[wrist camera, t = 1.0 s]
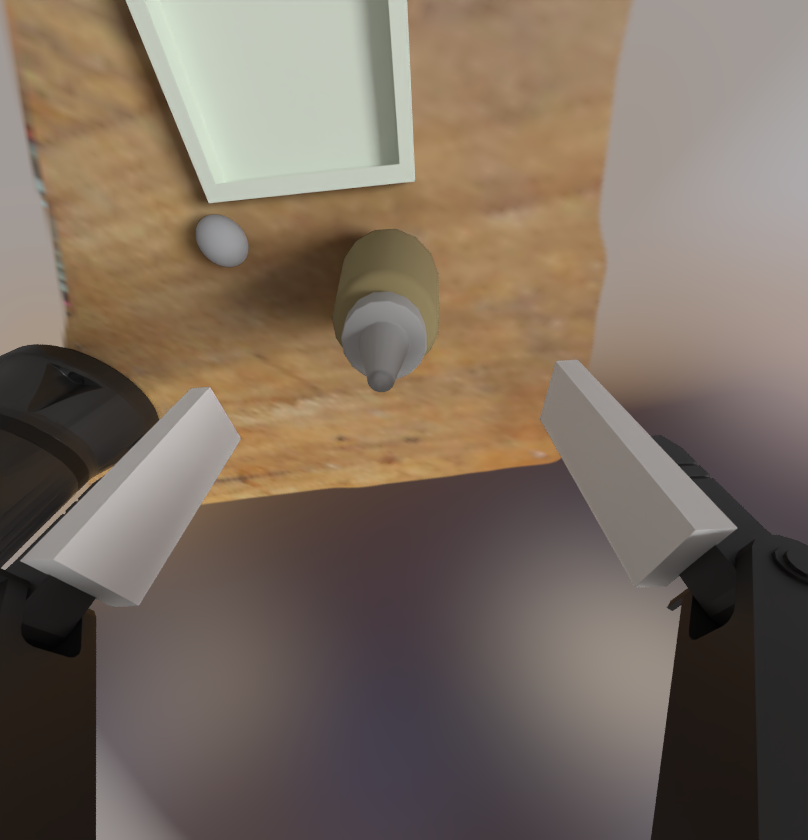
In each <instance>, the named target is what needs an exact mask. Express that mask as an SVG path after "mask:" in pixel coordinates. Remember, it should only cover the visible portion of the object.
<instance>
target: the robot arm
mask: <svg viewBox="0 0 808 840" xmlns="http://www.w3.org/2000/svg"><path fill="white" fill-rule="evenodd" d="M540 420H541V422H542V424H543V426H544V427H545V429H546V431H547V433H548V434H549V436H550V438H551V440H552V441H553V443H554V445H555V447H556V449H557V450H558V452H559V454H560V456H561V457H562V459H563V461H564V463H565V465H566V466H567V468H568V470H569V472H570V473H571V475H572V477H573V479H574V480H575V482H576V484H577V485H578V488H579V489H580V491H581V493H582V495H583V496H584V498H585V500H586V502H587V503H588V505H589V507H590V509H591V510H592V512H593V514H594V516H595V518H596V519H597V521H598V523H599V525H600V526H601V528H602V530H603V532H604V533H605V535H606V537H607V539H608V541H609V542H610V544H611V546H612V548H613V549H614V551H615V553H616V555H617V557H618V558H619V560H620V562H621V564H622V565H623V567H624V569H625V571H626V572H627V574H628V576H629V578H630V580H631V581H632V583H633V585H634V587H658V586H667V585H669V584H670V583H671V582H672V581H673V580H675V579H676V578H677V577H678V576H680V577H681V578H682V580H683V581H684V583H685V584H686V585H687V587H688V589H686V590H685V591H683V592H682V593H681V594H679V595H678V596H677V597H675V598H674V599H673V600H671V601H670V603H669V605H668V607H667V608H668V609H670V610H672V611H673V610H675V609H676V608H677V607H679V606H680V605H681V614H680V621H679V628H678V637H677V644H676V651H675V659H674V667H673V674H672V682H671V689H670V697H669V705H668V712H667V720H666V728H665V735H664V743H663V751H662V759H661V766H660V774H659V782H658V789H657V797H656V804H655V812H654V819H653V827H652V835H651V840H808V546H807V545H805V544H803V543H801V542H799V541H797V540H793V539H790V538H786V537H783V536H780V535H771V533H770V532H768V531H767V530H766V529H764V528H763V526H762V525H761V524H759V522H758V521H756V520H755V519H754V518H753V517H752V516H751V515H750V514H749V513H748V512H747V511H746V510H745V509H744V508H743V507H742V506H741V505H740V504H739V503H738V502H737V501H736V500H735V499H734V498H733V497H732V496H731V495H730V494H729V493H728V492H727V491H726V490H725V489H724V488H723V487H722V486H721V485H719V484H718V483H717V482H716V481H715V480H714V479H713V478H712V479H711V478H710V475H709V474H708V473H707V472H706V471H705V470H704V469H703V468H702V467H701V466H698V465H697V462H696V461H695V460H694V459H693V458H692V457H691V456H690V455H689V454H687V452H686V451H685V450H684V449H683V448H681V447H680V446H678V445H676V444H675V443H673V442H671V441H670V440H668V439H667V438H665V437H663V436H661V435H658V436H650V435H649V434H648V433H647V432H646V431H645V430H644V429H643V428H642V427H641V426H640V425H639V424H638V423H637V422H636V421H635V420H634V419H633V418H632V416H631V415H630V414H629V413H628V412H627V411H626V410H625V409H624V408H623V407H622V406H621V405H620V404H619V403H618V402H617V401H616V400H615V399H614V398H613V396H612V395H611V394H610V393H609V392H608V391H607V390H606V389H605V388H604V387H603V386H602V385H601V384H600V383H599V382H598V381H597V380H596V379H595V378H594V377H593V376H592V374H591V373H590V372H589V371H588V370H587V369H586V368H585V367H584V366H583V365H582V364H581V363H580V362H579V361H578V360H566V361H556V363H555V366H554V370H553V374H552V377H551V381H550V384H549V388H548V392H547V395H546V399H545V402H544V406H543V409H542V413H541V417H540ZM240 439H241V438H240V436H239V434H238V433H237V431H236V429H235V428H234V426H233V424H232V423H231V421H230V419H229V418H228V416H227V414H226V413H225V411H224V409H223V408H222V406H221V404H220V403H219V401H218V400H217V398H216V396H215V395H214V393H213V391H212V390H211V388H210V387H203V388H191V389H190V390H189V391H188V392H187V393H186V394H185V395H184V396H183V397H182V398H181V399H180V400H179V401H178V402H177V403H176V404H175V405H174V406H173V407H172V408H171V409H170V410H169V411H168V412H167V413H166V414H165V415H164V416H163V417H162V418H161V419H160V420H159V418H158V415H157V412H156V410H155V408H154V406H153V405H152V403H151V402H150V400H149V399H148V398H147V397H146V395H145V394H144V393H143V392H142V391H141V390H140V389H139V388H138V387H137V386H136V385H135V384H134V383H132V382H131V381H130V380H129V379H127V378H126V377H125V376H123V375H122V374H121V373H119V372H118V371H116V370H114V369H113V368H111V367H109V366H108V365H106V364H104V363H102V362H100V361H98V360H96V359H94V358H92V357H90V356H87V355H85V354H82V353H79V352H76V351H73V350H70V349H66V348H62V347H58V346H52V345H38V344H37V345H27V346H22V347H19V348H17V349H15V350H13V351H11V352H8V353H6V354H4V355H2V356H0V840H96V615H95V612H94V611H93V610H91V609H88V608H89V607H90V605H91V604H92V602H93V601H94V600H95V599H98V600H100V601H102V602H104V603H106V604H108V605H110V606H112V607H115V606H138V605H139V604H140V603H141V601H142V599H143V598H144V596H145V595H146V593H147V591H148V590H149V588H150V586H151V585H152V583H153V581H154V580H155V578H156V576H157V575H158V573H159V572H160V570H161V568H162V567H163V565H164V564H165V562H166V560H167V559H168V557H169V555H170V554H171V552H172V550H173V549H174V547H175V545H176V544H177V542H178V541H179V539H180V537H181V536H182V534H183V533H184V531H185V529H186V528H187V526H188V524H189V523H190V521H191V519H192V518H193V516H194V515H195V513H196V511H197V510H198V508H199V506H200V505H201V503H202V502H203V500H204V498H205V497H206V495H207V493H208V492H209V490H210V488H211V487H212V485H213V484H214V482H215V480H216V479H217V477H218V475H219V474H220V472H221V470H222V469H223V467H224V466H225V464H226V462H227V461H228V459H229V457H230V456H231V454H232V453H233V451H234V449H235V448H236V446H237V444H238V443H239V441H240ZM111 467H113V468H112V469H111V470H110V471H109V472H108V473H107V474H106V475H104V476H103V477H101V478H100V479H99V480H97V481H96V482H94V483H93V484H92V485H91V486H90V487H89V488H88V489H87V490H86V491H85V492H84V493H83V494H82V495H81V496H80V497H79V498H78V501H76V502H74V503H73V504H72V505H71V506H70V507H69V508H68V509H67V510H66V513H65V514H62V515H61V516H60V517H59V518H58V519H57V520H56V521H55V522H54V523H53V524H52V525H51V526H50V527H49V528H48V529H47V530H46V531H45V532H44V533H43V534H42V535H41V536H40V537H39V538H38V539H37V540H36V541H35V542H34V543H33V544H32V545H31V546H30V547H29V548H28V549H27V550H26V551H25V552H24V553H23V554H22V555H21V556H20V557H19V558H18V559H17V560H16V561H15V562H14V563H13V564H11V565H10V566H9V567H8V568H7V569H6V570H3V569H1V567H2V566H3V565H4V564H5V563H6V562H7V561H8V560H9V559H10V558H11V557H12V556H13V555H14V554H15V553H16V552H17V551H18V550H19V549H20V548H21V547H22V546H23V545H24V544H25V543H26V542H27V541H28V540H29V539H30V538H31V537H32V536H33V535H34V534H35V533H36V532H37V531H38V530H39V529H40V528H41V527H42V526H43V525H44V524H45V523H46V522H47V521H48V520H49V519H50V518H51V517H52V516H53V515H54V514H55V513H56V512H57V511H58V510H59V509H60V508H61V507H62V506H63V505H65V503H67V501H69V500H70V498H71V497H72V496H73V495H74V494H75V493H76V492H77V491H78V490H80V489H81V488H82V487H83V486H84V485H85V484H86V483H87V482H88V481H89V480H90V479H91V478H93V477H94V476H96V475H98V474H100V473H102V472H103V471H105V470H107V469H109V468H111Z"/></svg>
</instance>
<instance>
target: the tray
mask: <svg viewBox="0 0 808 840" xmlns="http://www.w3.org/2000/svg"><path fill="white" fill-rule="evenodd" d="M126 2H127V5H128V7H129V10H130V12H131V15H132V17H133V19H134V22H135V24H136V27H137V29H138V32H139V34H140V36H141V39H142V41H143V44H144V46H145V49H146V51H147V54H148V56H149V58H150V61H151V63H152V66H153V68H154V71H155V73H156V75H157V78H158V80H159V83H160V85H161V88H162V90H163V93H164V95H165V97H166V100H167V102H168V105H169V107H170V110H171V112H172V114H173V117H174V119H175V122H176V124H177V127H178V129H179V132H180V134H181V136H182V139H183V141H184V144H185V146H186V149H187V151H188V153H189V156H190V158H191V161H192V163H193V166H194V168H195V170H196V173H197V175H198V178H199V180H200V183H201V185H202V188H203V190H204V192H205V195H206V197H207V200H208V202H209V203H215V202H225V201H234V200H244V199H253V198H263V197H272V196H281V195H291V194H300V193H310V192H319V191H329V190H338V189H347V188H357V187H366V186H376V185H385V184H395V183H404V182H413V181H415V168H414V145H413V123H412V101H411V79H410V56H409V34H408V12H407V0H126Z"/></svg>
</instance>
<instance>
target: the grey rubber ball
mask: <svg viewBox="0 0 808 840" xmlns="http://www.w3.org/2000/svg"><path fill="white" fill-rule="evenodd" d="M196 240H197V243H198V246H199V248H200V250H201V251H202V252H203V254H204V255H205V256H206V257H207V258H208V259H209V260H211V261H212V262H214V263H215V264H217V265H220V266H224V267H235V266H238V265H240V264H241V263H243V262H244V260H245V259H246V257H247V255H248V250H249V245H248V240H247V238H246V235H245V233H244V232H243V230H242V229H241V228H240V226H239V225H238V224H237V223H235V222H234V221H233V220H231V219H230V218H228V217H225V216H222V215H217V214H213V215H208V216H206V217H204V218H202V219H201V220H200V221H199V223H198V225H197V227H196Z"/></svg>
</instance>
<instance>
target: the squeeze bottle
mask: <svg viewBox="0 0 808 840" xmlns="http://www.w3.org/2000/svg"><path fill="white" fill-rule="evenodd" d="M332 320H333V325H334V330H335V334H336V338H337V340H338V341H339V343H340V344H341V346H342V347H343V351H344V354H345V356H346V357H347V359H348V360H349V362H350V363H351V365H352V366H353V367H354V368H355V369H357V370H358V371H359V372H361V373H362V374H363V375H365V376H367V381H368V384H369V386H370V387H371V388H372V389H373V390H375V391H378V392H385V391H388V390H390V389H391V388H392V387H393V384H394V382H395V380H396V379H398V378H401V377H403V376H405V375H408V374H410V373H411V372H412V371H413V370H414V369H415V368H416V367H417V366H418V365H419V364H420V363H421V361H422V359H423V357H424V356H425V355H426V354H427V353H428V352H429V351H430V350H431V348H432V345H433V343H434V341H435V339H436V337H437V334H438V323H439V277H438V271H437V268H436V265H435V263H434V260H433V257H432V255H431V253H430V252H429V251H428V250H427V248H426V247H425V246H424V245H423V244H422V243H421V242H420V241H419V240H418V239H417V238H416V237H414V236H412V235H410V234H407V233H405V232H402V231H400V230H398V229H386V230H374V231H372V232H371V233H369V234H367V235H365V236H364V237H362V238H360V239H359V240H357V241H356V242H355V243H354V245H353V246H352V248H351V249H350V251H349V252H348V253H347V255H346V256H345V258H344V261H343V266H342V271H341V276H340V281H339V286H338V291H337V296H336V301H335V306H334V311H333V316H332Z"/></svg>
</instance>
